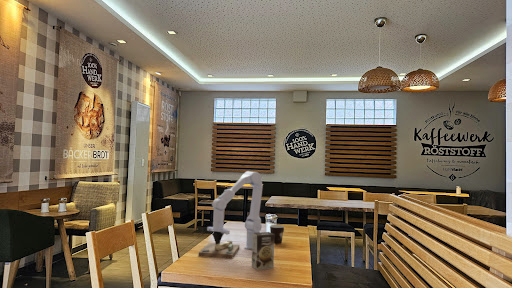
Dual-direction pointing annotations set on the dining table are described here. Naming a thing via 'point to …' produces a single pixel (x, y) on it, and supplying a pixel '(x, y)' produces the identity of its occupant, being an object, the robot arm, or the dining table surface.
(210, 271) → the dining table surface
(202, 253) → the wooden serving board
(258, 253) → the coffee box
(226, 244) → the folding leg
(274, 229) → the coffee mug
